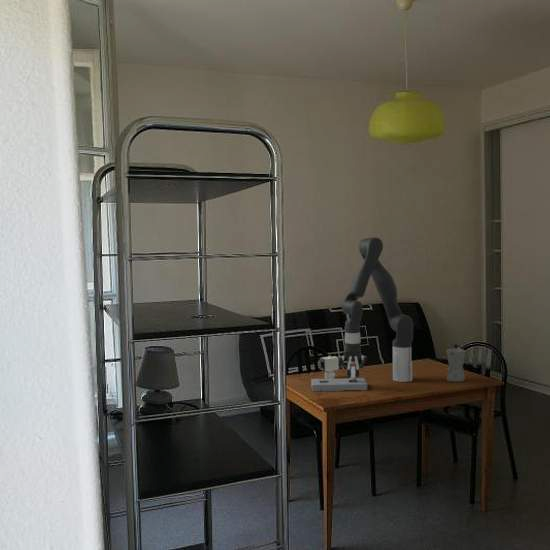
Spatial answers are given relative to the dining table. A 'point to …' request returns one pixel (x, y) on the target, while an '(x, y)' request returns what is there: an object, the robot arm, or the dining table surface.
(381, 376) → the dining table surface
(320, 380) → the mount board
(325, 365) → the pneumatic valve
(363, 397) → the dining table surface
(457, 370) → the coffeepot
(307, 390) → the dining table surface
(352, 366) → the lock pin
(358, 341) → the robot arm
